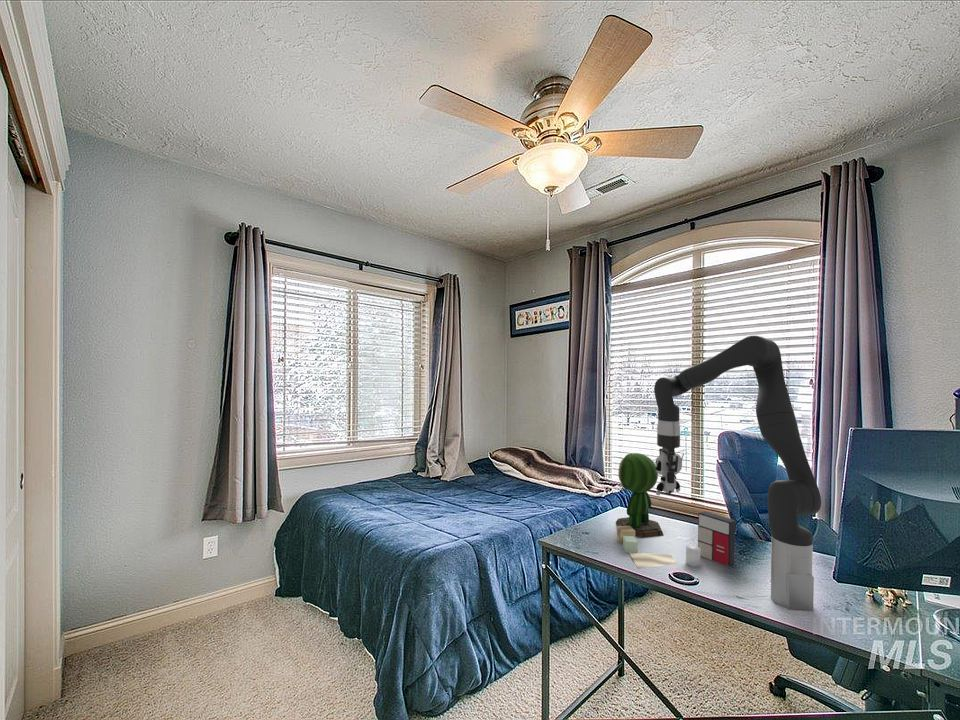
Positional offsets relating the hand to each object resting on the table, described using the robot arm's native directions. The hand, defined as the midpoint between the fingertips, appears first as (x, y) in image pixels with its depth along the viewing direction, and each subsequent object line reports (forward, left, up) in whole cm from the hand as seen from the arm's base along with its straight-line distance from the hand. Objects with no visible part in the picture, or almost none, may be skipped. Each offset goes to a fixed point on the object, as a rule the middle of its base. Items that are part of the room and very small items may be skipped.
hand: (668, 480), depth 158 cm
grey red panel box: (-6, -14, -25) cm, 29 cm away
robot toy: (+1, 0, -5) cm, 5 cm away
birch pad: (-10, +7, -25) cm, 28 cm away
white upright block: (-11, -5, -25) cm, 28 cm away
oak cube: (+6, +13, -25) cm, 29 cm away
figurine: (+20, +5, -25) cm, 33 cm away
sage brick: (-1, +13, -25) cm, 28 cm away
